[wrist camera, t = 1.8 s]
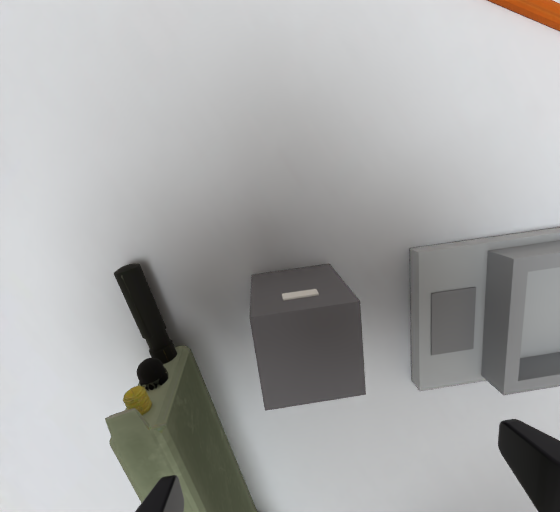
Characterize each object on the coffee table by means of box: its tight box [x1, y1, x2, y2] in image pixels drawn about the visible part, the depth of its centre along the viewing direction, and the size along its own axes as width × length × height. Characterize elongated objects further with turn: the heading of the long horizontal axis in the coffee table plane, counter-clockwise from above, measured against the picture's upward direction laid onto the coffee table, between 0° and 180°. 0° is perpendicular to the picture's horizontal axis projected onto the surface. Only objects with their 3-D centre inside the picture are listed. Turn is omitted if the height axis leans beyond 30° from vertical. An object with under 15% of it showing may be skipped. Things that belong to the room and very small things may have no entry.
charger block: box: [250, 264, 366, 410], centre depth 16 cm, size 5×4×6 cm
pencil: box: [488, 0, 560, 31], centre depth 15 cm, size 1×19×1 cm, turn 73°
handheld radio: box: [105, 264, 257, 512], centre depth 17 cm, size 7×3×25 cm
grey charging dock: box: [410, 227, 560, 395], centre depth 18 cm, size 9×14×3 cm, turn 97°
